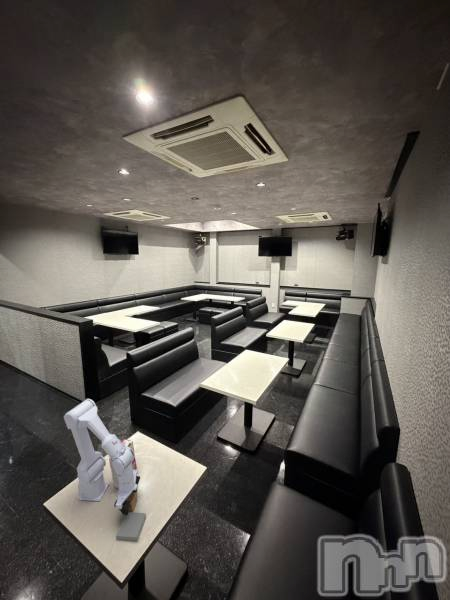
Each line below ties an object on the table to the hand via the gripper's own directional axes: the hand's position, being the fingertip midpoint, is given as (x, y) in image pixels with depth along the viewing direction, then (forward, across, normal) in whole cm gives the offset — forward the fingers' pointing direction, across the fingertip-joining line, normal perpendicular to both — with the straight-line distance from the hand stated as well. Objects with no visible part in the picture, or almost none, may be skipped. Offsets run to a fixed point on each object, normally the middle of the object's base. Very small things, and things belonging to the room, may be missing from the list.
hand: (129, 503), depth 98 cm
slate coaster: (+3, -7, -4) cm, 9 cm away
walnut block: (+2, 0, 0) cm, 2 cm away
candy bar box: (+2, +12, +8) cm, 15 cm away
